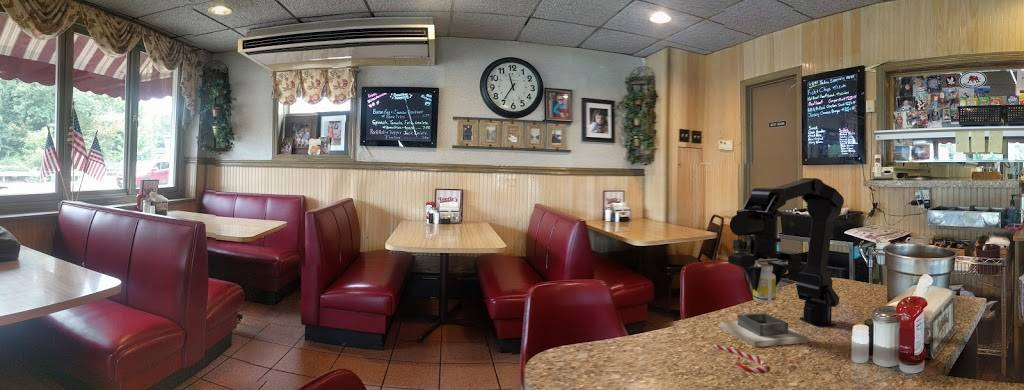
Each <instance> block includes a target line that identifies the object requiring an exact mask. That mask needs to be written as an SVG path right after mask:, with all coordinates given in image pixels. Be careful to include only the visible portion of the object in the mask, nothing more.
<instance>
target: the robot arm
mask: <svg viewBox="0 0 1024 390" xmlns="http://www.w3.org/2000/svg"><path fill="white" fill-rule="evenodd" d="M799 197H801V199H802V200H803V202H805V203H806V211H807V213H808V214H809V216H810V219H811V228H810V234H809V243H808V252H807V259H806V267H805V268H804V269H803V270H802V271H798V273H797V274H796V282H795V286H796V292H797V296H798V299H799V300H802V301H804V306H803V316H802V317H799V320H801V321H804V322H806V323H809V324H810V325H813V326H815V327H825V326H826V327H827V326H836V325H837V323H836V322H834V321H832V308H836V307H837V306H838V305H839V303H840V296H839V295H838V294H837V292H836V290H834V289H833V279H832V277H831V275H830V274H829V272H828V262H829V255H830V246H831V238H832V229H833V222H834V221H835V220H836V219H837V218H838V217H839V215H841V212H842V209H843V206H844V204H845V199H844V197H843V196H842V194H841V193H840V192H839V191H838V190H837V189H836V188H834V187H832V186H830V185H828V184H826V183H824V182H823V180H822V179H820V178H817V177H812V178H811V177H803V178H800V179H798V180H795V181H792V182H789V183H786V184H782V185H778V186H776V187H774V186H773V187H768V186H767V187H754V188H753V189H752V190H751V191H750V194H749V195H748V198H747V199H746V200H745V202H744V204H743V206H742V208H741V209H739V210H736V215H734V216H732V217H731V219H730V222H729V228H730V231H731V232H732V233H733V234H734V235H735V236H738V237H743V236H748V241H744V240H743V239H734V240H733V242H732V249H733V251H734V252H731V253H730V254H729V255H728V256H727V257H728V259H727V263H728V264H731V265H734V266H738V267H741V268H743V270H744V271H745V273H746V275H747V278H748V280H749V283H750V286H751V288H752V290H753V289H754V290H757V288H758V284H759V279H760V274H761V269H762V267H758V264H759V263H766V264H769V265H772V266H773V271H772V273H773V274H775V276H776V288H777V286H778V285H779V283H780V282H781V280H782V278H783V277H784V276H785V274H786V273H787V272H788V270H789V269H791V268H793V265H801V264H802V263H803V262H802V260H803V259H802V256H801V254H800V253H799V252H795V251H791V250H778V243H782V238H781V237H778V225H779V220H778V219H779V218H781V217H783V215H784V214H783V213H782V212H781V211H780V210H779V209H781V208H782V207H784V206H786V205H787V202H788V201H790V200H793V199H796V198H799ZM789 263H790V264H789ZM791 264H792V265H791Z"/></svg>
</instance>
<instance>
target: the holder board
mask: <svg viewBox="0 0 1024 390" xmlns="http://www.w3.org/2000/svg"><path fill="white" fill-rule="evenodd" d="M719 328H721V330H724V331H725V332H727V333H729V334H731V335H732V336H734V337H736V338H738V339H740V340H741V341H743V342H745V343H747V344H749V345H750V346H752V347H754V348H759V347H770V346H780V345H782V346H784V345H792V344H802V343H803V344H804V343H809V336H808V335H805V334H803V333H801V332H798V331H796V330H794V329H792V328H789V322H787V321H784V320H782V319H779V318H777V317H775V316H773V315H771V314H768V313H766V312H755V313H741V314H737V320H735V321H734V320H733V321H721V322H719Z"/></svg>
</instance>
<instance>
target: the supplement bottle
mask: <svg viewBox="0 0 1024 390" xmlns="http://www.w3.org/2000/svg"><path fill="white" fill-rule="evenodd" d="M758 267H762V269H761V274H760V279H759V284H758V288H757V290H754V289H753V288H752V299H753V300H754V301H757V302H761V303H775V302H776V300H777V299H776V294H777V293H776V289H777V287H776V276H775V274H773V273H772V271H773V266H772V265H769V264H768V263H758Z"/></svg>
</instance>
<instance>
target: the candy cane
mask: <svg viewBox="0 0 1024 390" xmlns="http://www.w3.org/2000/svg"><path fill="white" fill-rule="evenodd" d="M712 345H713V346H712V348H714V349H717V350H719V351H720V350H721V351H724V352H728V353H729V354H730V353H731V354H734V355H735V356H737V355H738V356H741V357H743V358H745V359H749V360H751V361H753V362H756V363H757V364H759V365H760V367H751V366H745V365H743V364H740V363H736V364H735V367H736V368H738V369H739V370H742V371H745V372H748V373H755V374H762V373H766V372H767V371H768V370H769V365H768V364H767V362H765V361H764V360H763V359H761V358H759V357H758V356H757V357H756V356H754V355H752V354H750V353H746V352H744V351H740V350H737V349H735V348H731V347H728V346H724V345H720V344H712Z"/></svg>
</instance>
